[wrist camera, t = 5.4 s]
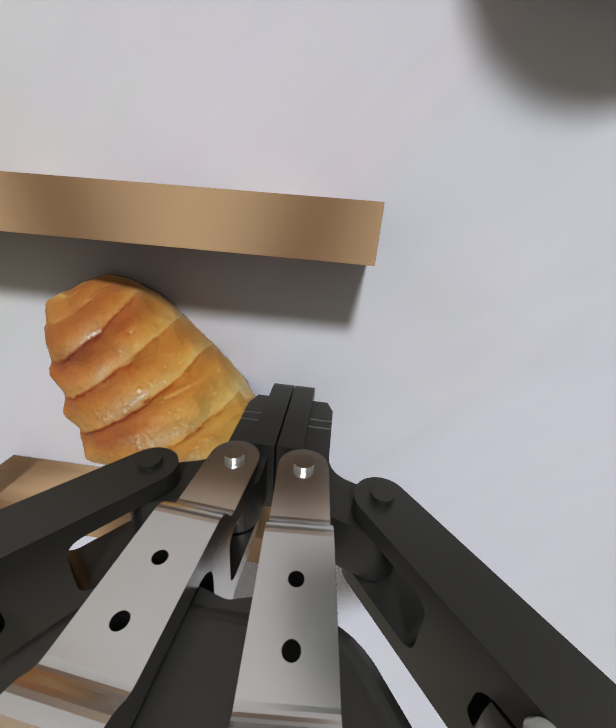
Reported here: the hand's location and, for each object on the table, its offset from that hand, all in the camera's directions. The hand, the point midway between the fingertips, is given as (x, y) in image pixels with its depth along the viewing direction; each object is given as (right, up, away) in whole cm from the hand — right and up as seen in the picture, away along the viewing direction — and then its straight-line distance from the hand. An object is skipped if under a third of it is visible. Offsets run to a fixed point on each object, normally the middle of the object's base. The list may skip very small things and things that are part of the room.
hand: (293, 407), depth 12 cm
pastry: (-5, 0, +2) cm, 6 cm away
